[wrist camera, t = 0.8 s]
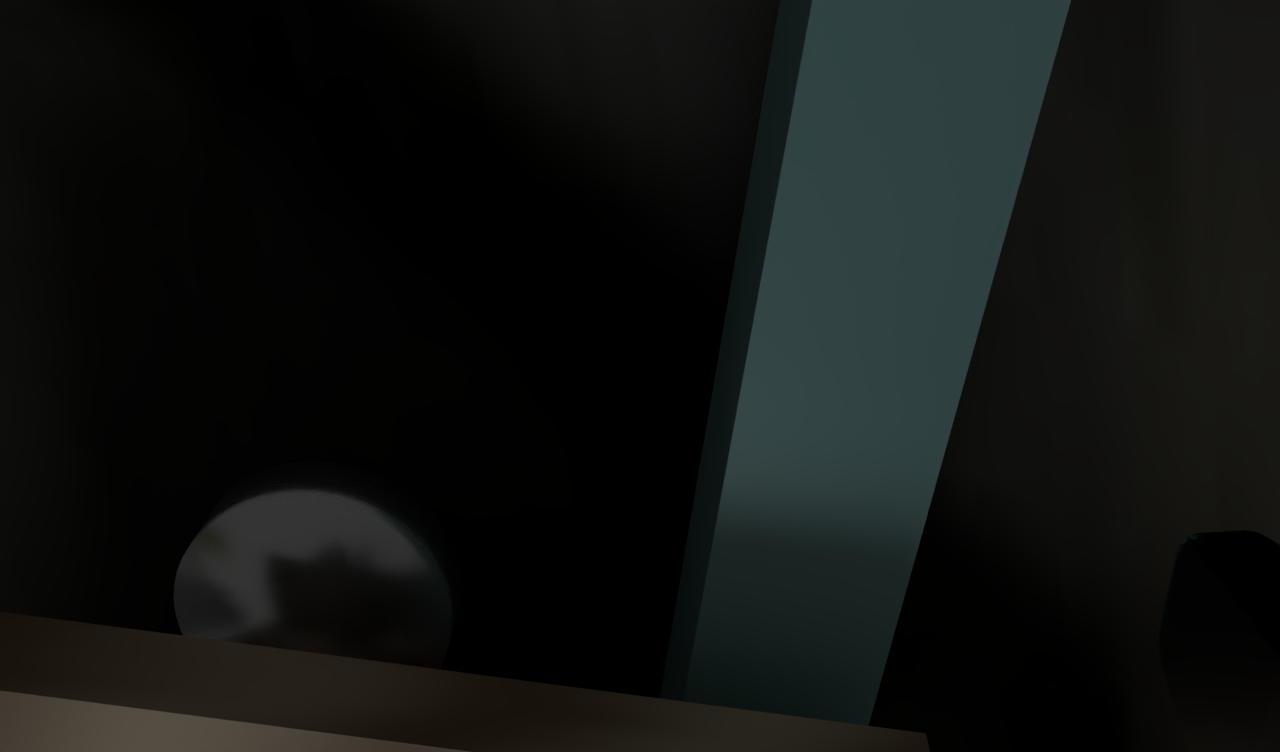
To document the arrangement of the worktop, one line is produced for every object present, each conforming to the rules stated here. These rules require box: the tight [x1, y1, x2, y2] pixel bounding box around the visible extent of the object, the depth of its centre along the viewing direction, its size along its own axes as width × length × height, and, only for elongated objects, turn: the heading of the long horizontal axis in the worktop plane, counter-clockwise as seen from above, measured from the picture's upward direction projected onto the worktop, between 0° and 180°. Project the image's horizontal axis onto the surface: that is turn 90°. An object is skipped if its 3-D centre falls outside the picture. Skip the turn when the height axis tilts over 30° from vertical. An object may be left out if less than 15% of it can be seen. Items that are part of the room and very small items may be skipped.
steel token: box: [174, 461, 463, 669], centre depth 22 cm, size 5×5×2 cm
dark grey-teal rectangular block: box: [660, 0, 1071, 726], centre depth 19 cm, size 3×17×4 cm, turn 173°
